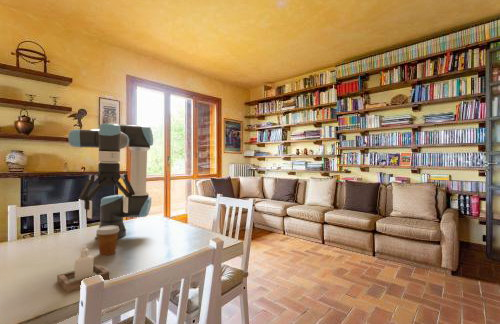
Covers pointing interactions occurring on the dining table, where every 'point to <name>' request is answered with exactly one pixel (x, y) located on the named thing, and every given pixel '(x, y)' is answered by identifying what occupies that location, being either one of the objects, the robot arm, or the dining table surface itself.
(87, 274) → the eye dropper bottle
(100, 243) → the disposable coffee cup
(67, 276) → the wooden tray
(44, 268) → the dining table surface
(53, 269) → the dining table surface
